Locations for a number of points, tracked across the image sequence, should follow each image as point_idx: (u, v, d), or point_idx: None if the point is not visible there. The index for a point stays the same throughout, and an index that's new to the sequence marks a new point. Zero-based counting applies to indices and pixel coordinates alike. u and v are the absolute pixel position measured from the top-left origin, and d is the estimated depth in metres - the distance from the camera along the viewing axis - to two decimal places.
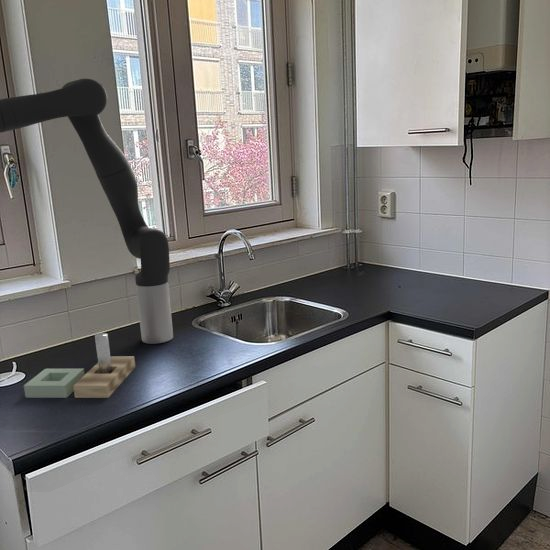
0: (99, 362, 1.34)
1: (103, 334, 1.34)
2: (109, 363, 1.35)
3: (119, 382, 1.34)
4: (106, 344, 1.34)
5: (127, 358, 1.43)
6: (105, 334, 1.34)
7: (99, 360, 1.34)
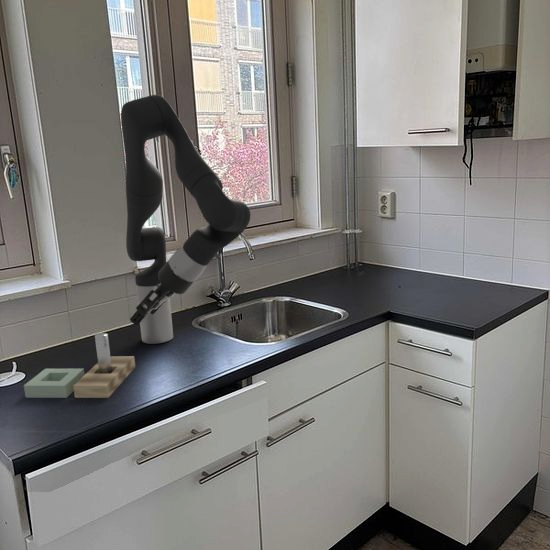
0: (99, 362, 1.34)
1: (103, 334, 1.34)
2: (109, 363, 1.35)
3: (119, 382, 1.34)
4: (106, 344, 1.34)
5: (127, 358, 1.43)
6: (105, 334, 1.34)
7: (99, 360, 1.34)
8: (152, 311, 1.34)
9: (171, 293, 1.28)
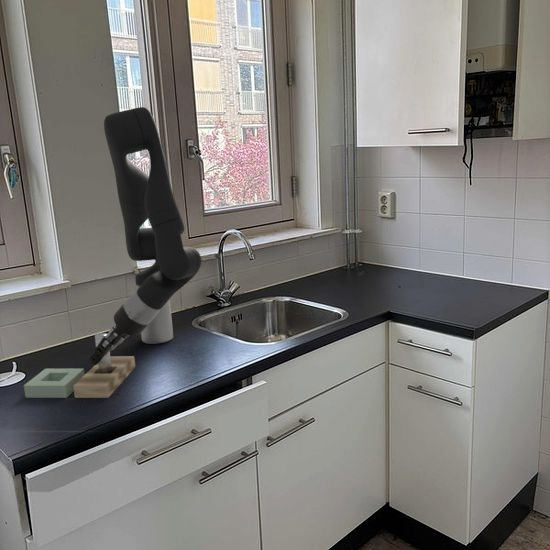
0: (99, 362, 1.34)
1: (103, 334, 1.34)
2: (109, 363, 1.35)
3: (119, 382, 1.34)
4: None
5: (127, 358, 1.43)
6: (105, 334, 1.34)
7: None
8: None
9: (128, 333, 1.34)
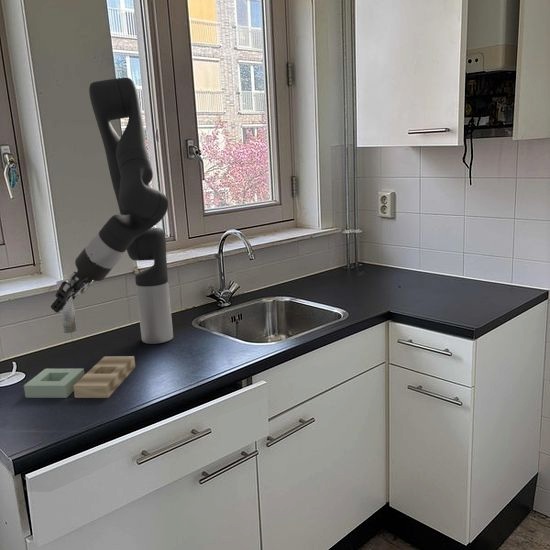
0: (61, 310, 1.29)
1: None
2: (72, 311, 1.30)
3: (119, 382, 1.34)
4: None
5: (127, 358, 1.43)
6: (67, 280, 1.29)
7: None
8: None
9: (91, 279, 1.29)
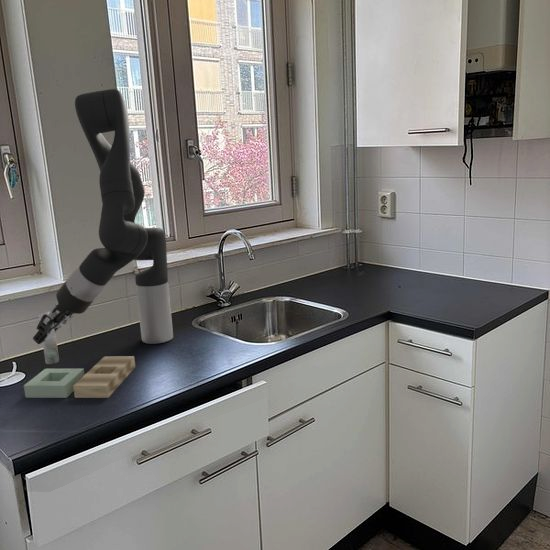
0: (43, 341, 1.30)
1: (47, 312, 1.30)
2: (54, 342, 1.31)
3: (119, 382, 1.34)
4: None
5: (127, 358, 1.43)
6: (49, 312, 1.30)
7: None
8: None
9: None
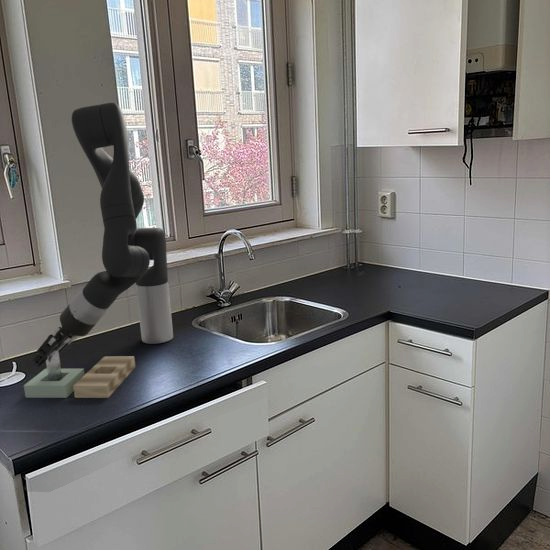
0: (48, 369, 1.31)
1: None
2: (58, 370, 1.32)
3: (119, 382, 1.34)
4: None
5: (127, 358, 1.43)
6: None
7: (48, 367, 1.31)
8: None
9: None
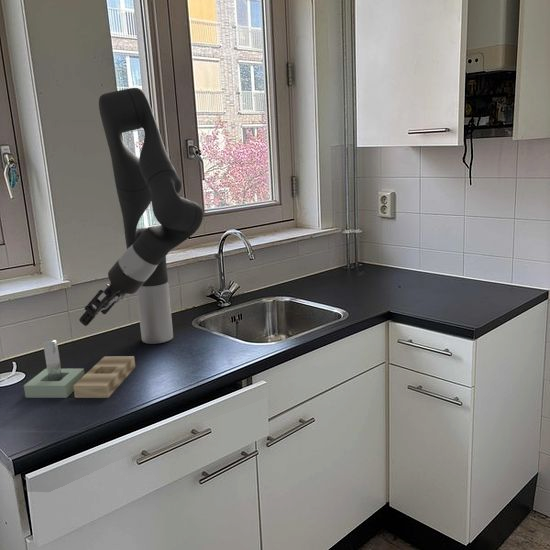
0: (48, 369, 1.32)
1: (52, 340, 1.32)
2: (58, 370, 1.32)
3: (119, 382, 1.34)
4: (55, 350, 1.31)
5: (127, 358, 1.43)
6: (54, 340, 1.31)
7: (48, 367, 1.31)
8: (104, 311, 1.31)
9: (122, 293, 1.26)
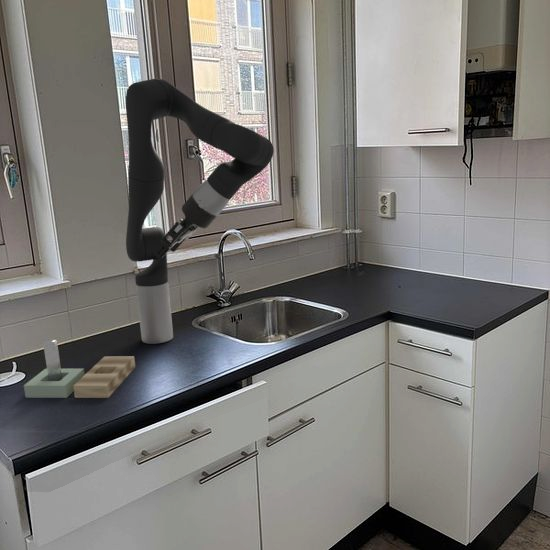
0: (48, 369, 1.32)
1: (52, 340, 1.32)
2: (58, 370, 1.32)
3: (119, 382, 1.34)
4: (55, 350, 1.31)
5: (127, 358, 1.43)
6: (54, 340, 1.31)
7: (48, 367, 1.31)
8: (173, 248, 1.36)
9: (193, 228, 1.31)
